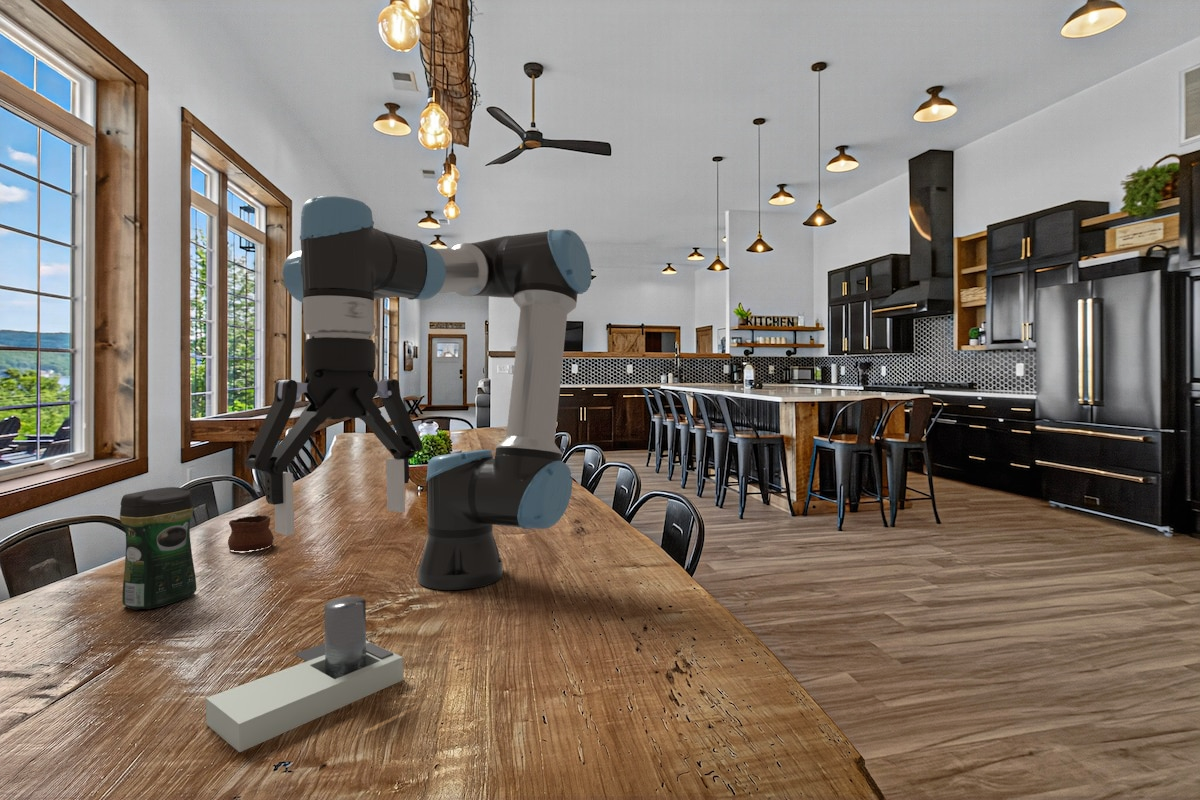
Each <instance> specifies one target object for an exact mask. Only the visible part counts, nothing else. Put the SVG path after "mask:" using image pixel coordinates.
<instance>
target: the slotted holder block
mask: <svg viewBox="0 0 1200 800" xmlns="http://www.w3.org/2000/svg"><path fill="white" fill-rule="evenodd" d="M402 681H404V657H403V656H402V655H399V654H397V653H395V652H393V651H391V650H388V649H387V648H383V647H381V646H379V645H377V644H375V643H373V642H371V641H368V640H366V667H364V668H362V669H359V670H357V671H354V672H352V673H349V674H347V675H344V676H342V677H339V678H337V679H333V678H331V677H330V676H328V675H326V674H325V655H323V656H320V657H318V658H315V659H312V660H309V661H304V662H300V663H299V664H295V665H293V666H290V667H288V668H285V669H282V670H279V671H277V672H274V673H271V674H268V675H265V676H263V677H260V678H258V679H257V678H256V679H254V680H252V681H248V682H246V683H243V684H241V685H238V686H235V687H232V688H230V689H226V690H224V691H222V692H219V693H216V694H213V695H211V696H207V697H205V713H206V714H205V716H206V717H205V718H206V719H205V720H206V723H205V724H206V725H207V727H209V728H210V729H212V731H213V732H215V733H216V734H217V735H218V736H219V737H221V738H222V739H223V740H224V741H226V743H227V744H229V745H230V746H231V747H232V748H233V749H235V751H237V752H238V753H242V752H244V751H246V750H248V749H250V748H252V747H253V748H254V747H255V746H257V745H259V744H262V743H263V742H266V741H268V740H271V739H274V738H275V737H278V736H280V735H282V734H284V733H286V732H289V731H291V730H293V729H296V728H298V727H300V726H302V725H304V724H307V723H309V722H311V721H314V720H316V719H318V718H320V717H323V716H325V715H328V714H329V713H332V712H335V711H336V710H339V709H341V708H343V707H346V706H348V705H350V704H352V703H355V702H357V701H359V700H361V699H364V698H365V697H366V698H367V697H368V696H370V695H372V694H375V693H377V692H379V691H381V690H384V689H386V688H388V687H390V686H393V685H395V684H397V683H399V682H402Z"/></svg>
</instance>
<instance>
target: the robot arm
mask: <svg viewBox="0 0 1200 800" xmlns="http://www.w3.org/2000/svg"><path fill="white" fill-rule="evenodd" d="M374 225H375V221H374V220H373V211H372V209H371V208H370V206H368V205H367V204H366V203H365V202H363V201H360V200H358V199H355V198H350V197H345V196H337V195H322V196H318V197H317V196H316V197H313V198H310V199H308V200H307V201H305V202H304V204H303V205H302V209H301V218H300V235H299V240H300V250H297V251H293V252H292V253H291V254H290V255H289V256H287V257H286V259H285V260H284V262H283V265H282V266H283V267H282V280H283V283H284V286H285V288H286V291H288V293H289V294H290V295H291V296H292V297H293V298H294V299H295V300H297V301H299V302H301V303H302V309H303V310H302V311H303V312H302V313H303V314H302V315H303V316H302V317H303V319H302V320H303V333H305V335H309V338H307V339H305V341H303V350H304V351H303V353H304V370H305V379H304V381H303V382H298V381H296V380H294V379H279V380H276V382H275V385H274V394H273V395H274V396H273V397H274V398H273V402H272V404H271V406H270V408H269V410H268V412H267V414H266V416H265V417H264V421H263V422H262V424H261V427H260V428H259V431H258V433H257V435H256V437H255V439H254V441H253V443H252V446H251V447H250V449H249V451H248V453H247V456H246V458H245V459H244V466H245V467H246V468H247V469H251V470H256V471H260V472H262V473H263V474H264V481H265V500H266V502H267V504H269V505H273V506H274V532H275V533H276V534H280V535H282V536H283V535H284V536H286V537H287V536H288V537H289V536H292V535H293V536H294V535H295V514H294V513H295V509H294V508H295V507H294V474H293V473H292V472H287V471H286V469H287V468H288V467H289V465H290V464H291V463H292V461H294V459H295V458H296V457H297V456H298V453H299V452H301V449H302V448H303V447H304V446H305V445H306V443H307V442H308V441H309V439H310V438H311V436H313V434H314V433H315V431H316V430H317V429H318V428H319V426H320V425H322V424H323V423H324V422H326V420H341V419H359V420H361V421H362V422H364V423H365V425H366V426H367V427H368V428H369V430H370V431H371V432H372V433H373V434H374V435H375V437H376V438H377V439H378V441H380V443H381V444H382V445H383V446H384V447H385V448H386V450H387V451H388V452H389V453H390V454H391V456H393V457H386V459H385V469H386V470H385V472H386V475H385V476H386V511H390V512H395V513H405V512H406V506H405V505H406V497H405V495H406V494H405V493H406V492H405V491H406V490H405V489H406V488H405V484H408V483H409V481H410V459H413V458H414V457H415V454H416V453H417V452H421V451H422V450H423V449H424V445H423V442H422V441H421V437H420V436H419V433H418V431H417V429H416V427H415V425H414V423H413V421H412V418H411V416H410V414H409V412H408V410H407V408H406V405H405V403H404V401H403V399H402V397H401V389H400V383H399V380H398V379H396V378H395V379H393V378H389V379H387V378H386V379H385V378H384V379H380V381H376V379H375V375H374V374H375V371H376V343H375V342H374V340H373V339H370V336H373V335H374V334H375V302H374V301H375V300H377V299H378V300H379V299H388V298H390V299H391V298H405V299H408V300H410V301H411V300H412V301H413V300H424V301H425V300H429V299H431V298H433V297H436V295H437V294H443V293H444V294H445V293H446V294H447V293H456V294H458V295H460V296H463V297H474V296H475V297H491V298H504V299H505V298H506V299H508V298H509V299H510V298H511V299H512V298H513V299H512V300H513V301H514V304H516V306H518V307H519V309H520V312H519V320H518V328H517V337H516V346H515V347H516V348H515V355H514V364H513V371H512V372H513V373H512V374H513V375H512V381H511V382H512V383H511V391H510V398H509V408H508V409H509V410H508V417H507V424H506V426H507V427H506V437H505V438H504V440H502V441H501V442H500V443H499V444H497V445H496V447H495V453H494V454H495V456H494V455H493V452H492V450H491V449H476V450H467V451H461V452H455V453H447V454H440V455H436V456H432V457H431V459H429V460H428V462H427V471H426V474H427V475H426V479H425V482H426V512H427V539H426V542H425V546H424V549H423V553H422V555H421V556H422V557H421V560H420V563H419V565H418V569H417V579H418V580H417V582H418V583H419V584H420V585H421V586H423V587H425V588H428V589H432V590H433V589H434V590H441V591H459V590H470V589H476V588H481V587H484V586H485V587H486V586H489V585H491V584H493V583H496V582H497V581H499V580H501V578H502V577H503V573H504V571H503V560H502V558H501V557H500V556H501V555H500V552H499V550H498V546H497V543H496V540H495V536H494V533H493V526H494V525H495V526H501V527H511V528H522V529H523V530H533V529H534V530H546V529H549V528H552V527H553V526H555V525H556V524H558V522H559V521H560V520H561V518H562V517H563V516H564V514H565V512H566V511H567V509H568V506H569V504H570V500H571V497H572V491H573V477H571V476H572V471H571V468H570V467H569V465H568V464H567V463H565V462H563V461H562V458H563V452H562V451H561V450H560V448H559V447H558V446H557V444H556V442H555V440H556V430H557V422H558V413H559V412H558V411H559V400H560V391H561V380H562V369H563V360H564V350H565V342H566V341H565V339H566V330H567V329H566V328H567V320H568V315H569V313H571V312H572V311H574V310H575V309H576V307H577V303H578V302H577V301H578V295H583V294H584V293H586V292H588V290H589V288H590V287H591V284H592V266H591V260H590V257H589V256H590V255H589V253H588V251H587V248H586V245H585V244H584V241H583V240H582V238H581V237H580V236H579V235H578V234H577V233H576V232H575V231H573V230H570V229H549V230H547V231H539V232H530V233H522V234H515V235H505V236H499V237H495V238H490V239H487V240H482V241H476V242H469V243H468V242H463V243H459V244H456V245H454V246H453V247H452V248H436V247H433V246H431V245H428V244H425V243H423V242H422V241H420V240H418V239H410V238H407V237H403V236H400V235H397V234H394V233H390V232H387V231H386V232H385V231H383V230H380V229H378V228H375V227H374ZM302 395H304V397H305V398H306V399H307V401H308V402H309V403H308V404H307V405H306V407H305V408H304V409H303V411H301V413H300V415H299V418H298V419H297V421H296V422H295V424H294V425H293V426H292V428H290V430H289V431H288V433H287V434H286V435H285V437H284V438H283V439H282V440H281V441H280V438H281V437H282V434H283V432H284V430H285V428H286V425H287V424H288V422H289V419H290V418H291V415H292V413H293V411H294V408H295V406H296V402H297V401H299V400H300V399H301V397H302ZM376 395H377V396H378V397H379V398H380V399H381V402H382V404H383V407H384V409H385V411H386V413H387V415H388V417H389V419H390V422H391V425H393V427H392V426H391V425H390V423H389V422H388V421H387V420H386V418H384V416H383V415H382V411H381V410H380V409H379V407H378V406H377V405H376V404H375V402H374V400H373V399H374V397H375V396H376ZM393 428H394V429H393ZM279 441H280V443H279ZM278 443H279V444H278Z"/></svg>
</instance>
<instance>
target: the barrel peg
mask: <svg viewBox="0 0 1200 800" xmlns="http://www.w3.org/2000/svg"><path fill="white" fill-rule="evenodd" d="M366 607H367V604H366V599H365V598H364V597H361V596H344V597H340V598H339V597H338V598H335V599H331V600H329V601H328V602H326V603H325V604H324V643H325V674H326V675H328V676H330V677H331V678H333V679H337V678H339V677H342V676H344V675H347V674H349V673H352V672H354V671H357V670H359V669H362V668H364V667H366V641H367V630H366V629H367V627H366V626H367V624H366V623H367V622H366V621H367V618H366V617H367V616H366Z"/></svg>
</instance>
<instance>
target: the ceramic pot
mask: <svg viewBox="0 0 1200 800" xmlns="http://www.w3.org/2000/svg"><path fill="white" fill-rule="evenodd" d="M228 525H229V527H230V528H231V531H230V532H231V533H230V535H229V537H228V539H227V546H228V549H229V551H230V550H234V551H249V550H256V549H261V548H265V547H268V546H270V545H271V546H272V545H273V543H274V539H275V538H274V534H273V532H272V530H270V525H271V516H269V515H264V514H263V515H260V514H258V515H253V516H251V515H250V516H244V517H239V518H237V519H232V520H229V522H228Z"/></svg>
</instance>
